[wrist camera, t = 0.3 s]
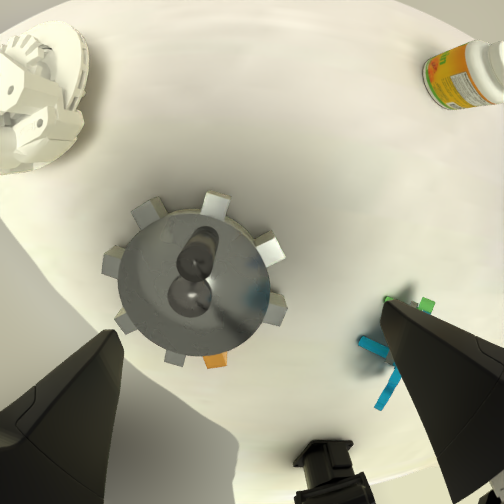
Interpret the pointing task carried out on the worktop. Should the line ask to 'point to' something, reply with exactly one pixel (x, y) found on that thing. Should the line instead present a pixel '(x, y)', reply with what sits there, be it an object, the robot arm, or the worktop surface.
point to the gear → (385, 352)
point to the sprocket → (195, 280)
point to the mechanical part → (41, 95)
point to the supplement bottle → (467, 75)
